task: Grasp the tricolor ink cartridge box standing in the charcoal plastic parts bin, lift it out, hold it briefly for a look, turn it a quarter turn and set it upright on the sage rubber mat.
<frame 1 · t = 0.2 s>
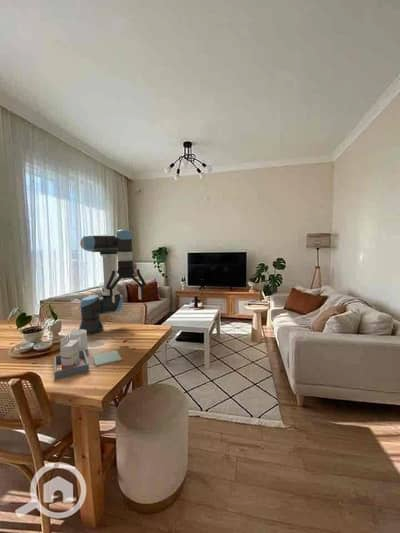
hand: (127, 300, 130), 28 cm above the table, fingers open, 13 cm apart
mat: (106, 358, 125), on the table
mug: (79, 351, 135), on the table
bin: (71, 367, 117), on the table
ink cartridge box: (71, 367, 117), resting in bin
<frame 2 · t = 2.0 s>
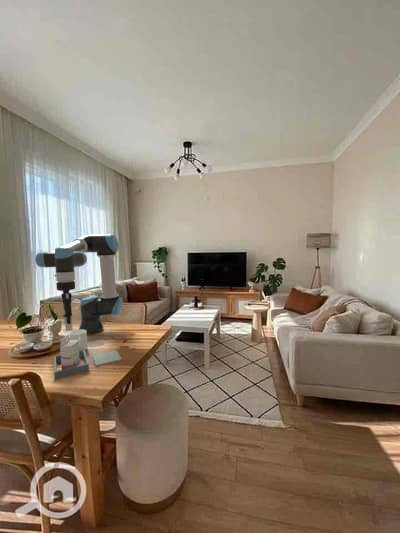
hand: (68, 326, 115), 20 cm above the table, fingers open, 13 cm apart
nothing on the table moved.
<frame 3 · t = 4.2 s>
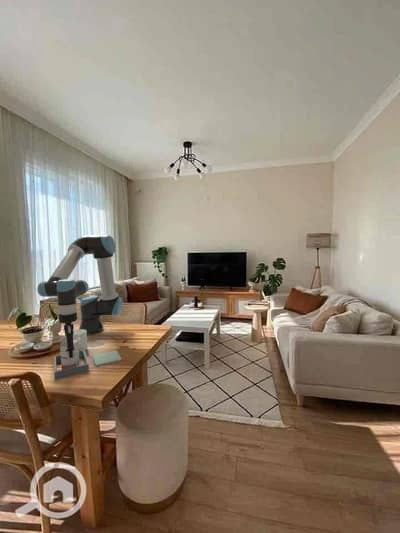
hand: (70, 359, 117), 4 cm above the table, fingers closed on ink cartridge box, 9 cm apart
ink cartridge box: (71, 367, 117), resting in bin, touching gripper
everything else where it was.
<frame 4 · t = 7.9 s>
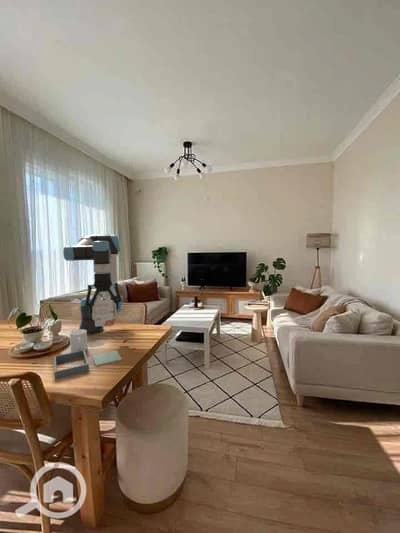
hand: (104, 317, 123), 21 cm above the table, fingers closed on ink cartridge box, 9 cm apart
ink cartridge box: (105, 325, 124), point 17 cm above the table, touching gripper
everything else where it was.
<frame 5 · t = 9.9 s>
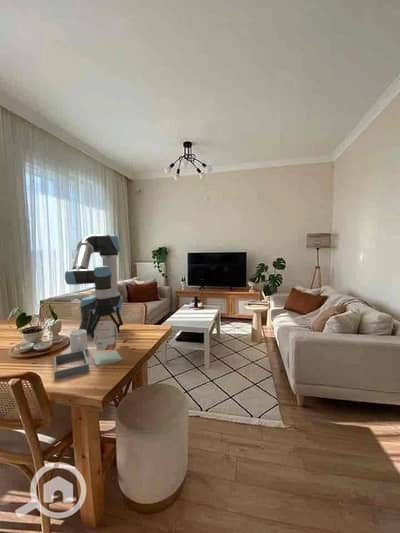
hand: (106, 341, 124), 9 cm above the table, fingers closed on ink cartridge box, 9 cm apart
ink cartridge box: (106, 348, 125), point 5 cm above the table, touching gripper
everything else where it was.
when the fingers open (6 cm above the table, at t = 11.5 s): ink cartridge box drops 2 cm, resting on mat.
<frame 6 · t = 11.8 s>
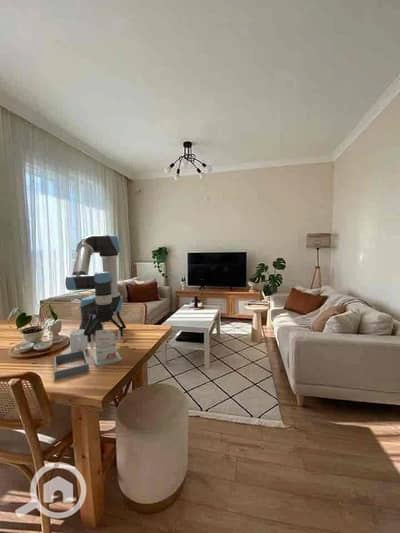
hand: (106, 345, 124), 7 cm above the table, fingers open, 12 cm apart
ink cartridge box: (106, 357, 125), point 1 cm above the table, touching mat
everything else where it was.
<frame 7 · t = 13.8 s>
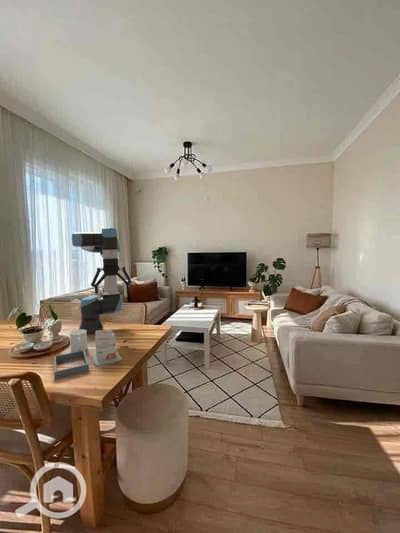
hand: (112, 298, 131), 29 cm above the table, fingers open, 13 cm apart
nothing on the table moved.
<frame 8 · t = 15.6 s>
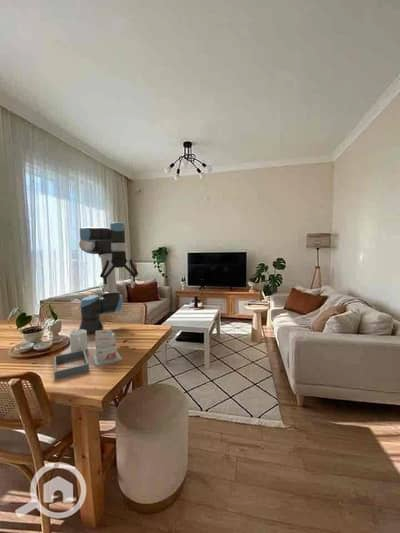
hand: (120, 288, 139), 33 cm above the table, fingers open, 13 cm apart
nothing on the table moved.
at the end: ink cartridge box inside the target area on the mat (0.1 cm from its centre), point 0.6 cm above the mat's base; ink cartridge box tilted 0°; the gripper is holding nothing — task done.
